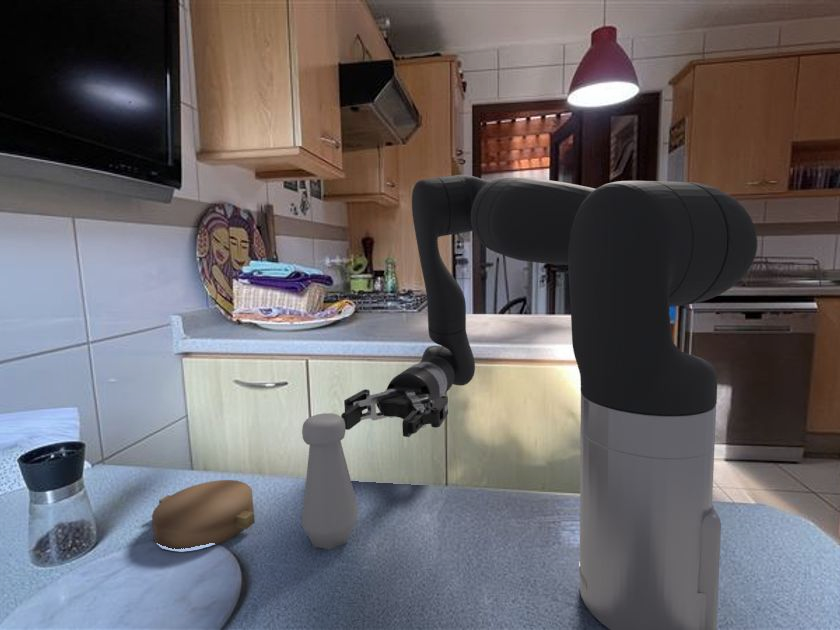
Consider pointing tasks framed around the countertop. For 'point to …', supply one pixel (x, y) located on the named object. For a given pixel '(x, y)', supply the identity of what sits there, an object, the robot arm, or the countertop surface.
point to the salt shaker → (327, 483)
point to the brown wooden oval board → (203, 514)
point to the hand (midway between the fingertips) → (374, 426)
